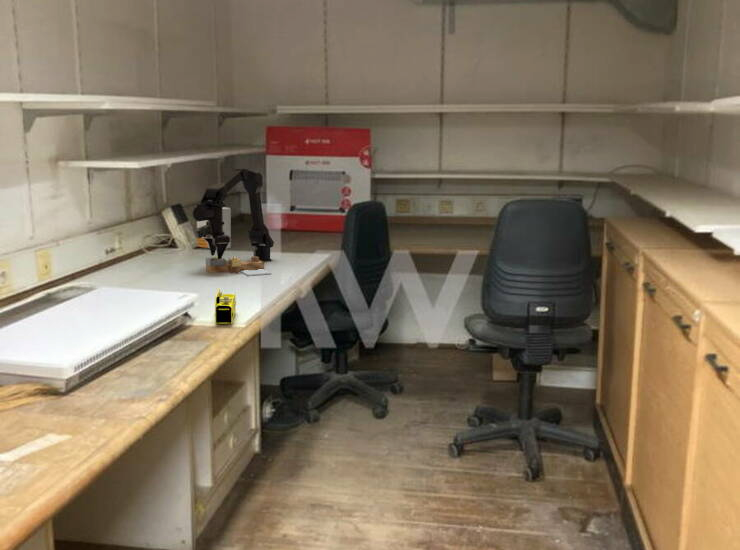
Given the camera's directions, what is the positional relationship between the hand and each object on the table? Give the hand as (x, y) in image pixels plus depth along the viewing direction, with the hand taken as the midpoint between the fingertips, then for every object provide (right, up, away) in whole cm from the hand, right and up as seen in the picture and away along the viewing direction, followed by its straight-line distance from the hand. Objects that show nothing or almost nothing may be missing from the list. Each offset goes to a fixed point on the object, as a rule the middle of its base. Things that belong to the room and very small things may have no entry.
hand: (216, 257), depth 283 cm
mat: (+16, -7, 0) cm, 18 cm away
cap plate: (0, -3, +1) cm, 3 cm away
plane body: (+7, -5, +5) cm, 10 cm away
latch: (+8, -3, -1) cm, 8 cm away
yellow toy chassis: (+18, -21, -69) cm, 75 cm away
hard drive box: (-14, +6, +59) cm, 61 cm away
